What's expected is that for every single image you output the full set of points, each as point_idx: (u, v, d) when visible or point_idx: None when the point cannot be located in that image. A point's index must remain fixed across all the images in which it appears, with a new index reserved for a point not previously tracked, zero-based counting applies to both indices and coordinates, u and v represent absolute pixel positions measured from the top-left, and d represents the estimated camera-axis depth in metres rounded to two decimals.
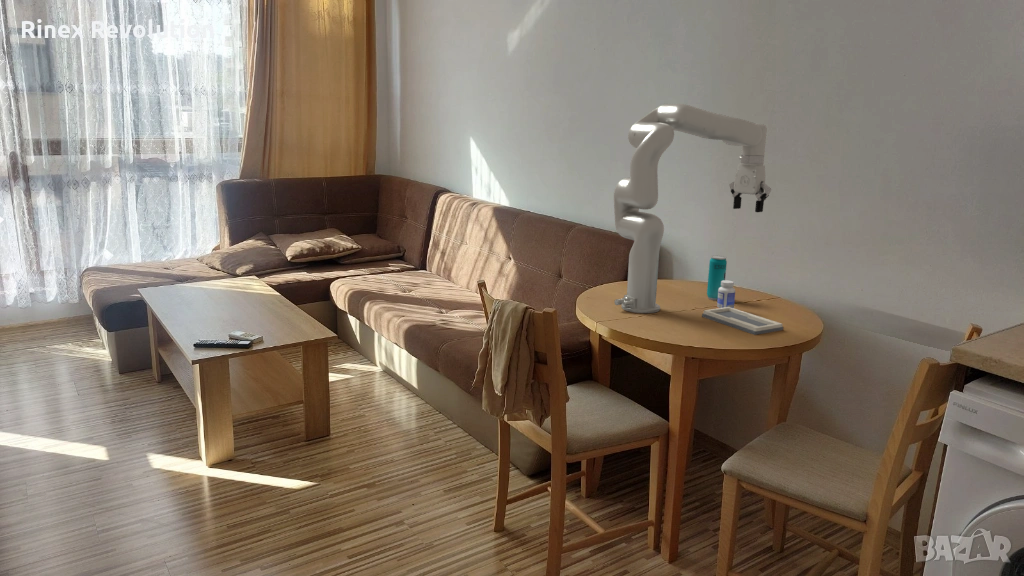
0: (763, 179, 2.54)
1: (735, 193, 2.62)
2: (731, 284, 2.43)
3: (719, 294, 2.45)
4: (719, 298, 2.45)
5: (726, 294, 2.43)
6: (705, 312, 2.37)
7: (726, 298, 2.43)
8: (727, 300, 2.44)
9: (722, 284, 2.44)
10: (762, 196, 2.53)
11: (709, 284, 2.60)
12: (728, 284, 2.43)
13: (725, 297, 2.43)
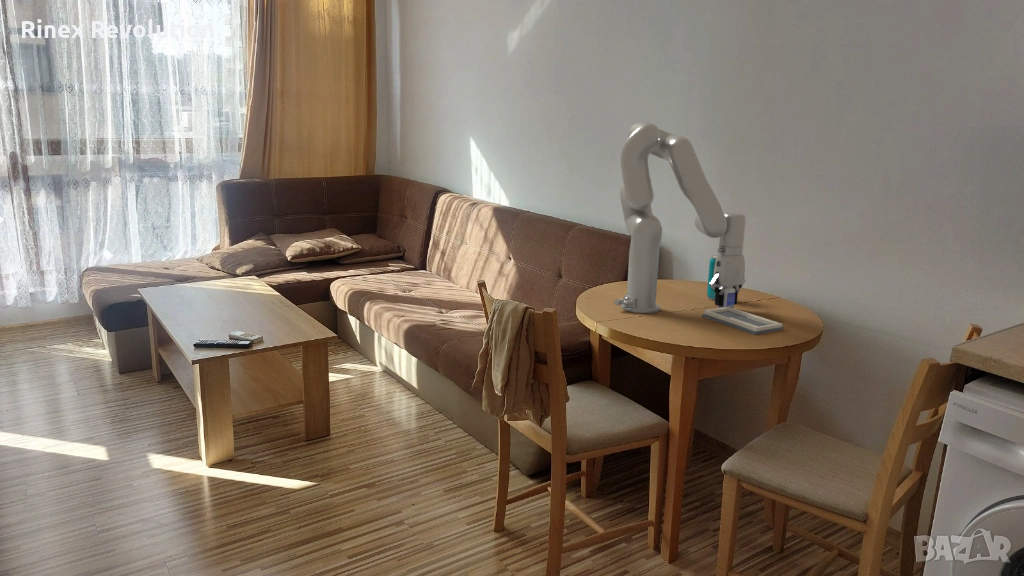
0: None
1: (723, 290, 2.43)
2: None
3: None
4: None
5: (726, 294, 2.43)
6: (705, 312, 2.37)
7: (726, 298, 2.43)
8: (727, 300, 2.44)
9: None
10: (739, 287, 2.47)
11: None
12: None
13: (725, 297, 2.43)
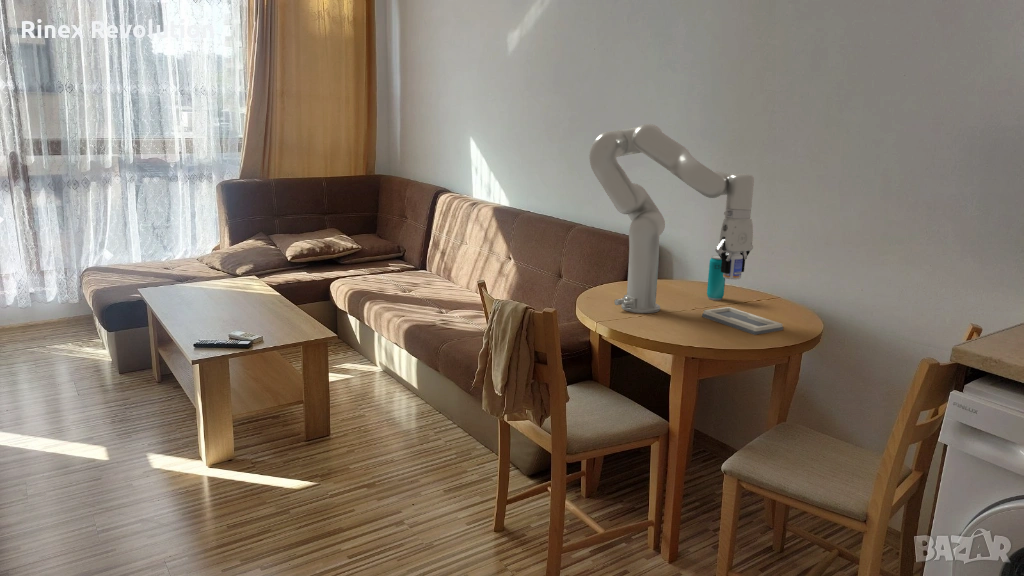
0: None
1: (729, 256, 2.29)
2: None
3: None
4: None
5: (733, 261, 2.30)
6: (705, 312, 2.37)
7: (733, 265, 2.30)
8: (734, 267, 2.30)
9: None
10: None
11: (709, 284, 2.60)
12: None
13: (732, 264, 2.30)
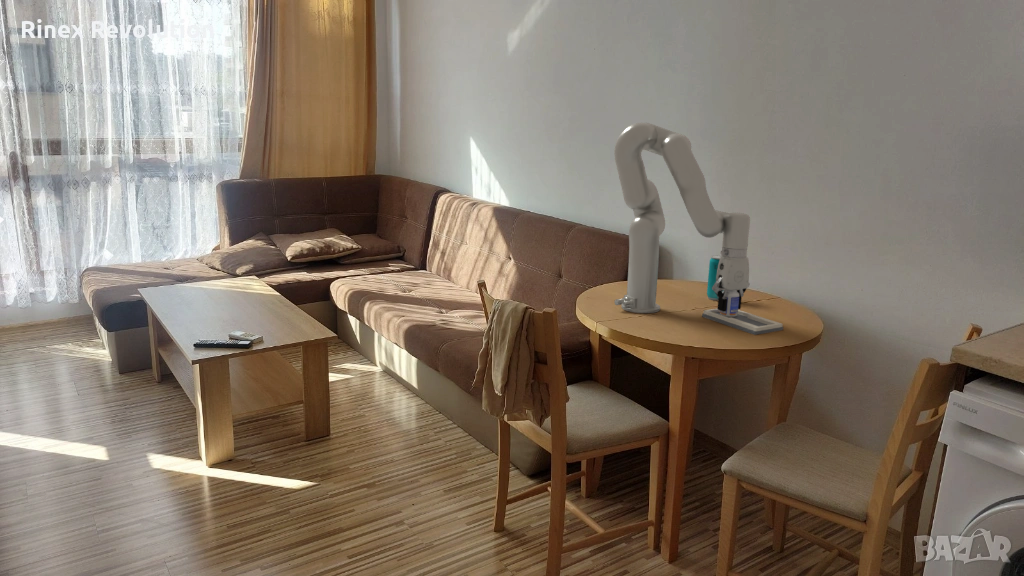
0: None
1: (726, 294, 2.32)
2: None
3: None
4: None
5: (729, 299, 2.32)
6: (705, 312, 2.37)
7: (730, 303, 2.33)
8: (731, 305, 2.33)
9: None
10: (743, 291, 2.36)
11: (709, 284, 2.60)
12: None
13: (729, 302, 2.33)
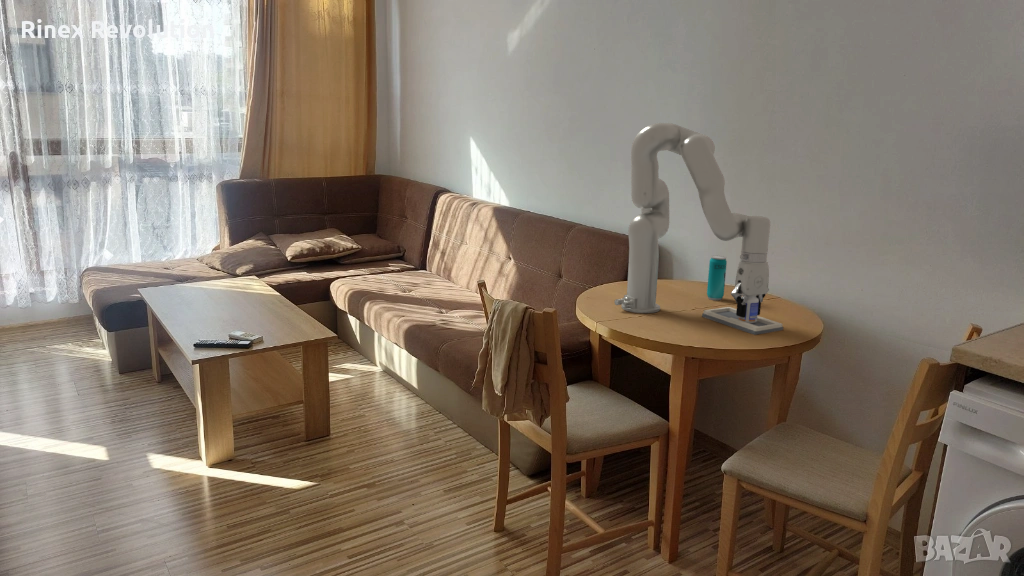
0: None
1: (745, 300, 2.25)
2: None
3: None
4: None
5: (749, 304, 2.26)
6: (705, 312, 2.37)
7: (749, 309, 2.26)
8: (750, 311, 2.26)
9: None
10: (762, 297, 2.29)
11: (709, 284, 2.60)
12: None
13: (748, 307, 2.26)
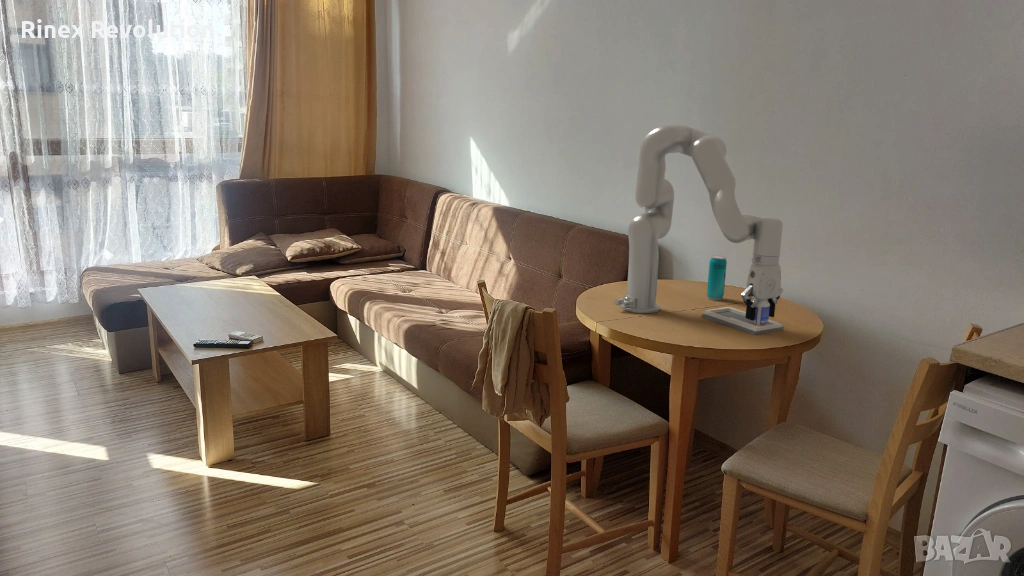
0: None
1: (755, 302, 2.21)
2: None
3: None
4: None
5: (760, 309, 2.22)
6: (705, 312, 2.37)
7: (760, 313, 2.22)
8: (761, 315, 2.22)
9: None
10: (776, 298, 2.26)
11: (709, 284, 2.60)
12: None
13: (759, 312, 2.22)
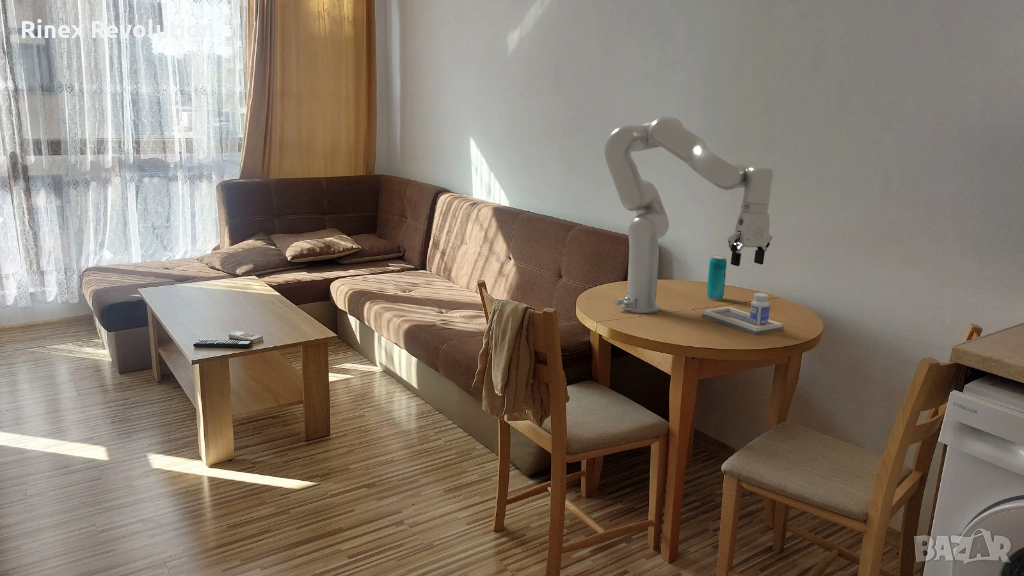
0: None
1: (740, 248, 2.21)
2: (765, 297, 2.22)
3: (752, 308, 2.24)
4: (752, 313, 2.24)
5: (760, 309, 2.22)
6: (705, 312, 2.37)
7: (760, 313, 2.22)
8: (761, 315, 2.22)
9: (755, 297, 2.23)
10: (766, 246, 2.27)
11: (709, 284, 2.60)
12: (762, 297, 2.22)
13: (759, 312, 2.22)
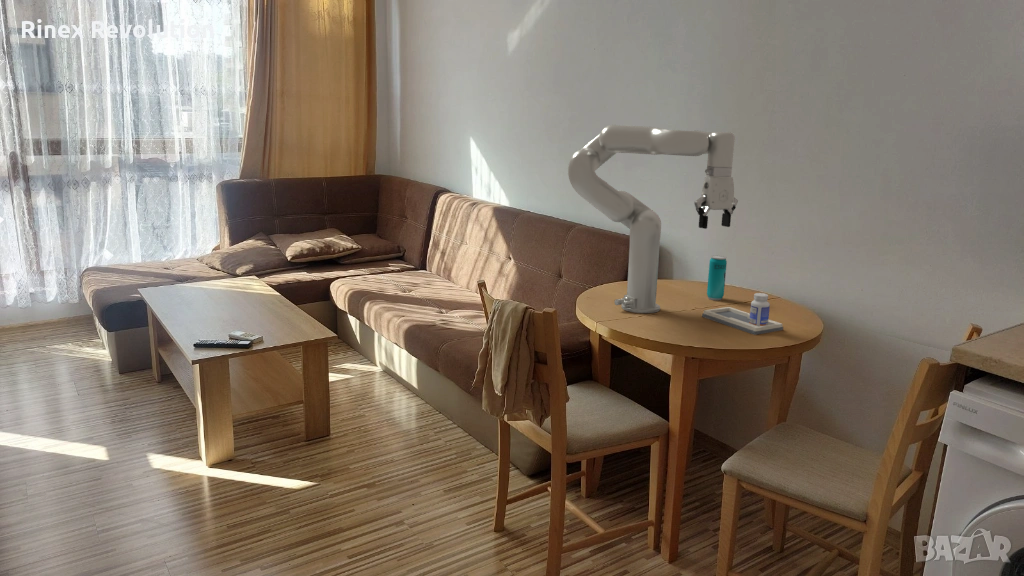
0: None
1: (707, 211, 2.31)
2: (765, 297, 2.22)
3: (752, 308, 2.24)
4: (752, 313, 2.24)
5: (760, 309, 2.22)
6: (705, 312, 2.37)
7: (760, 313, 2.22)
8: (761, 315, 2.22)
9: (755, 297, 2.23)
10: (732, 209, 2.36)
11: (709, 284, 2.60)
12: (762, 297, 2.22)
13: (759, 312, 2.22)
